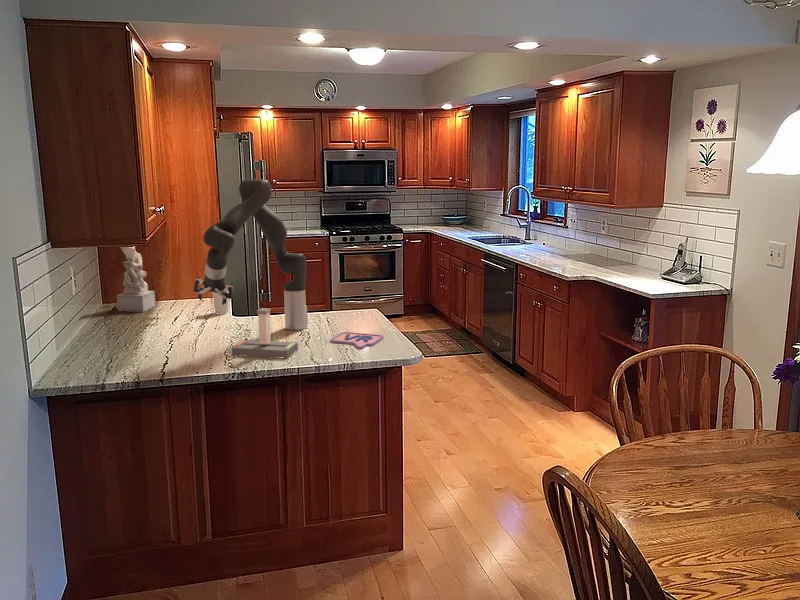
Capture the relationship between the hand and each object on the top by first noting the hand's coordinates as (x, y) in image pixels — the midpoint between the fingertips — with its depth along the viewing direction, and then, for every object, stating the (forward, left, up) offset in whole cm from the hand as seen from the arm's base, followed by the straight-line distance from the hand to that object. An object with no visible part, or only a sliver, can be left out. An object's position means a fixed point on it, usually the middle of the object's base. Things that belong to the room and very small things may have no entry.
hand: (212, 300), depth 258 cm
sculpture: (-32, -87, -19) cm, 95 cm away
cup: (-47, -44, -19) cm, 68 cm away
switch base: (-6, +21, -19) cm, 29 cm away
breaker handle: (-6, +21, -15) cm, 27 cm away
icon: (-37, +41, -20) cm, 59 cm away
